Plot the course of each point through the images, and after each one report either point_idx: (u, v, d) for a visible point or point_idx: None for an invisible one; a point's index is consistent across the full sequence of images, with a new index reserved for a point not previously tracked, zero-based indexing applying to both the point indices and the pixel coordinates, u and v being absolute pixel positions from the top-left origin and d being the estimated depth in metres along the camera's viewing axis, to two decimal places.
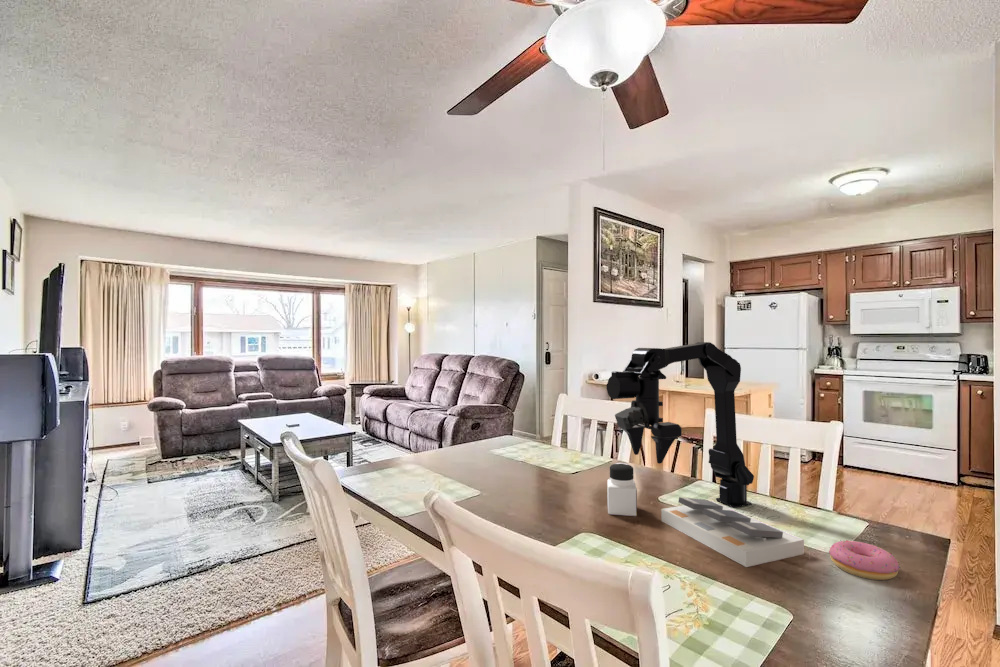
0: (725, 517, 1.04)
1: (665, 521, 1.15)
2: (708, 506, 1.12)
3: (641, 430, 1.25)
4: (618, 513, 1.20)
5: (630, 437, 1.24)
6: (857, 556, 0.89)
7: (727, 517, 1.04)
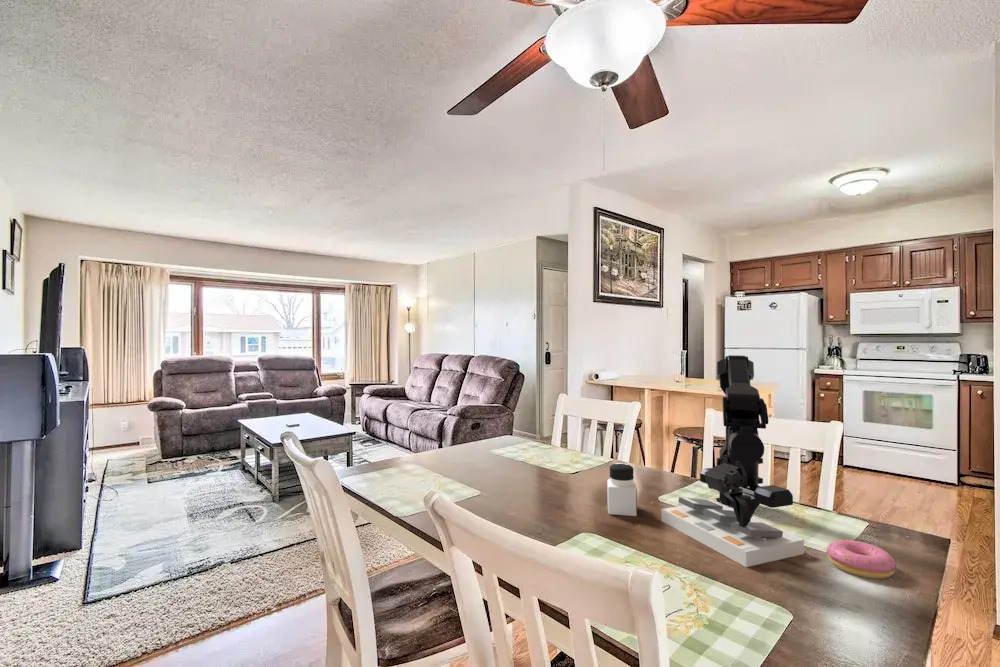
0: (725, 517, 1.04)
1: (665, 521, 1.15)
2: (708, 506, 1.12)
3: None
4: (618, 513, 1.20)
5: (734, 504, 0.99)
6: (854, 555, 0.90)
7: (727, 517, 1.04)
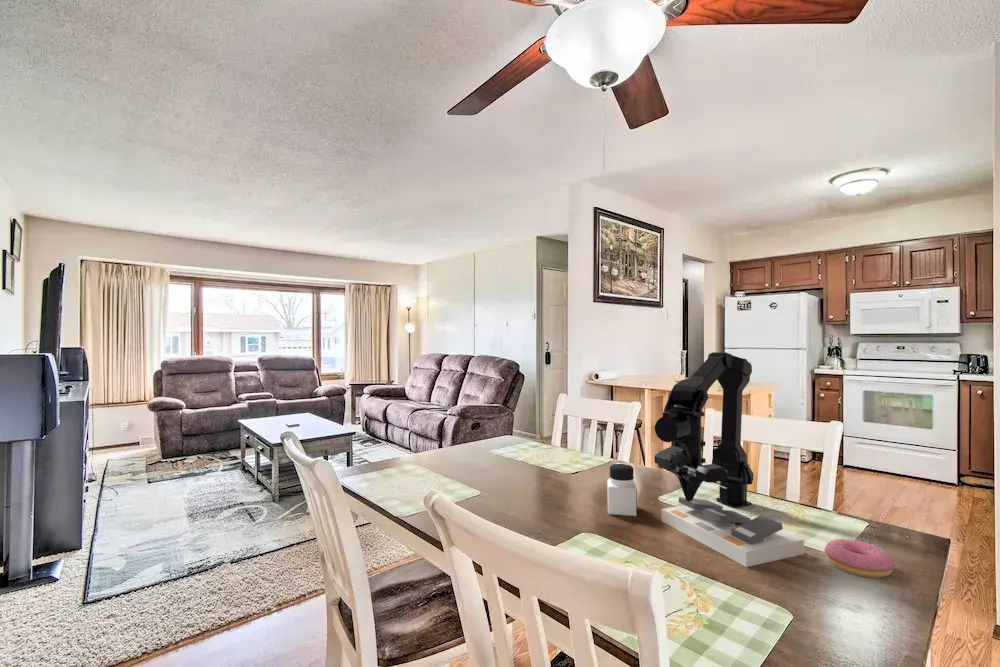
0: (725, 517, 1.04)
1: (665, 521, 1.15)
2: (708, 506, 1.12)
3: None
4: (618, 513, 1.20)
5: (681, 481, 1.14)
6: (852, 554, 0.90)
7: (727, 517, 1.04)
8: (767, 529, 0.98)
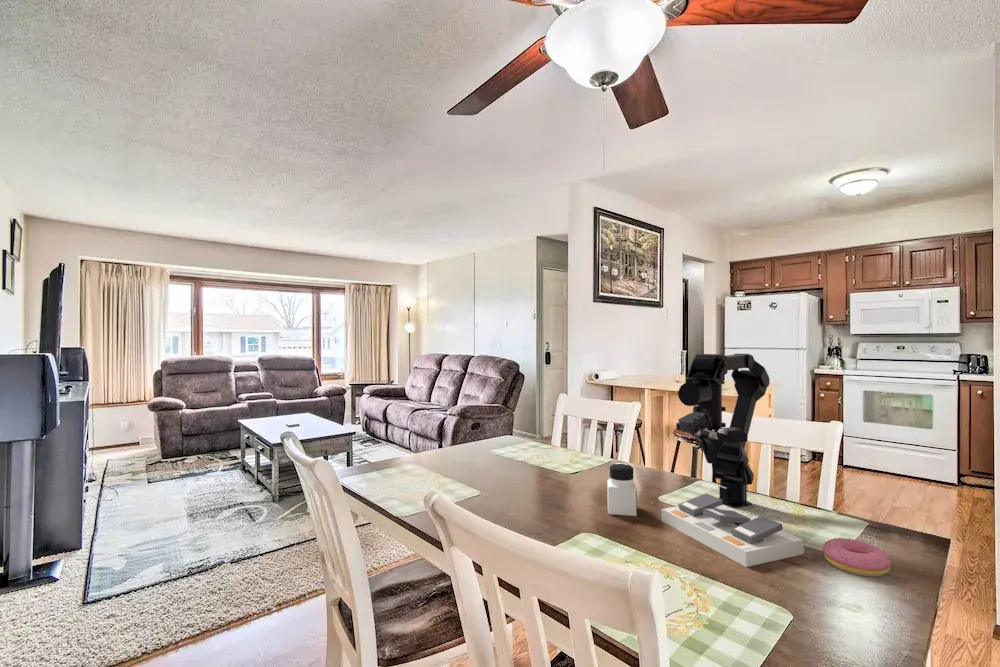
0: (725, 517, 1.04)
1: (665, 521, 1.15)
2: (708, 506, 1.12)
3: None
4: (618, 513, 1.20)
5: (702, 445, 1.22)
6: (849, 553, 0.91)
7: (727, 517, 1.04)
8: (767, 529, 0.98)
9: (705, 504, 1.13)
